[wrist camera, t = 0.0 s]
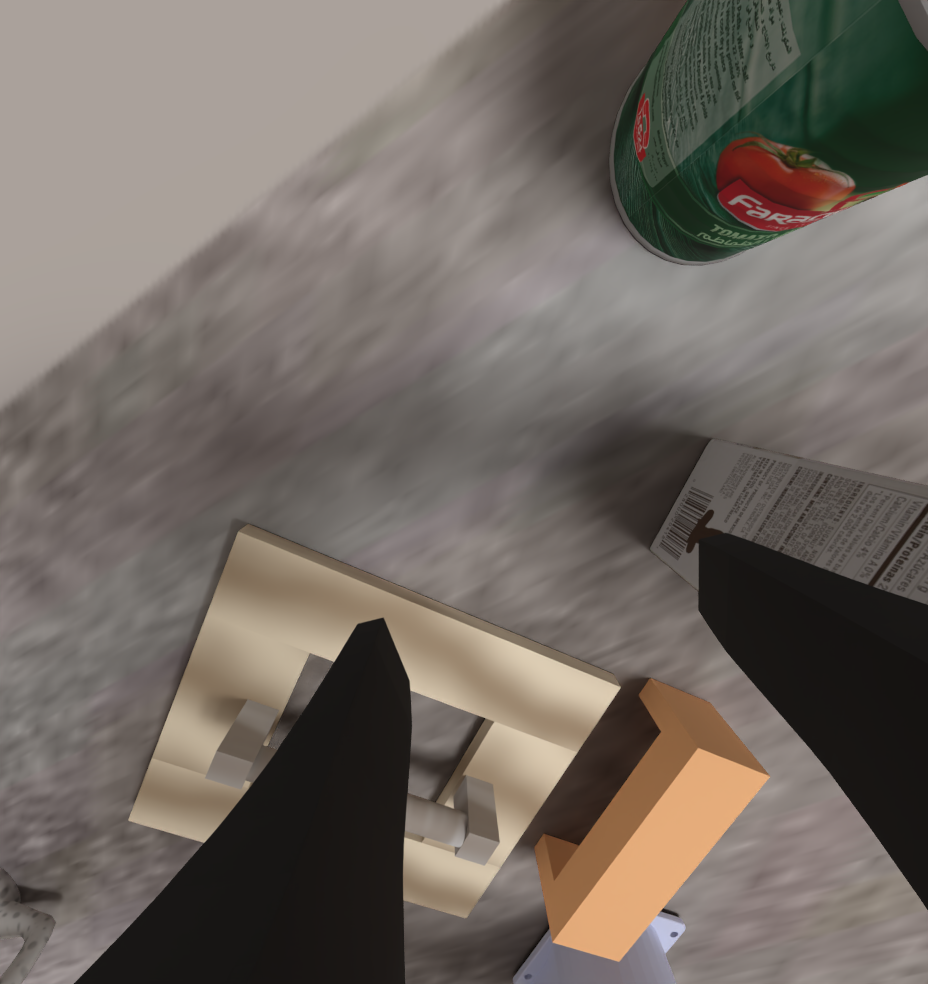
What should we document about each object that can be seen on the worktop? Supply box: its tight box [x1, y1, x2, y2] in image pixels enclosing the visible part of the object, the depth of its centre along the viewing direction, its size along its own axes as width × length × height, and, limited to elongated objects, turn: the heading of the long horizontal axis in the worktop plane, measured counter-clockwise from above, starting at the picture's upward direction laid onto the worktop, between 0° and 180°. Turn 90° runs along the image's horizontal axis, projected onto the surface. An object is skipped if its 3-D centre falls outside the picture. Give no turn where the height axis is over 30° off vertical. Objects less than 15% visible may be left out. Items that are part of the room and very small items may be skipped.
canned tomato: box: [609, 0, 928, 265], centre depth 11 cm, size 8×8×11 cm
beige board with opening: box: [128, 524, 621, 918], centre depth 21 cm, size 18×20×4 cm
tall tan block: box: [534, 678, 770, 962], centre depth 23 cm, size 13×4×4 cm, turn 154°
